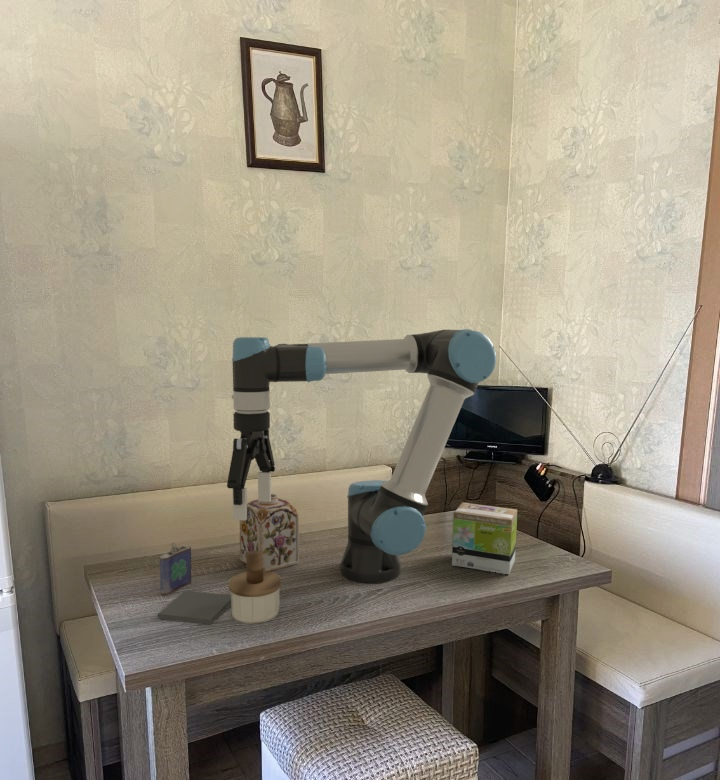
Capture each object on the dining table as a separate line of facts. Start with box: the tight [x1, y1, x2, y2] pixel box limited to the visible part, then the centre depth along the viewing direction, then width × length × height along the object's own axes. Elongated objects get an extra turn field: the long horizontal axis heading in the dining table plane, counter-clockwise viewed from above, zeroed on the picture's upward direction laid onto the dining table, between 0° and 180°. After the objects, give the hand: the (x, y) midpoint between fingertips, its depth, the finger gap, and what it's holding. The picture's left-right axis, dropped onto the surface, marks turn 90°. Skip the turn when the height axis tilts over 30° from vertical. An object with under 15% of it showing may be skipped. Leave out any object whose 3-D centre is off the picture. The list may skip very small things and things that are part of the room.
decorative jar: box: [239, 493, 300, 572], centre depth 163 cm, size 12×12×18 cm
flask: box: [159, 542, 192, 597], centre depth 147 cm, size 9×3×11 cm, turn 151°
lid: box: [228, 551, 282, 597], centre depth 134 cm, size 11×11×7 cm
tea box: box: [451, 502, 518, 575], centre depth 163 cm, size 15×10×15 cm, turn 68°
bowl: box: [230, 588, 280, 625], centre depth 135 cm, size 10×10×6 cm
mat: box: [158, 590, 231, 625], centre depth 137 cm, size 12×12×1 cm
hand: (252, 509), depth 133 cm, fingers open, 13 cm apart
